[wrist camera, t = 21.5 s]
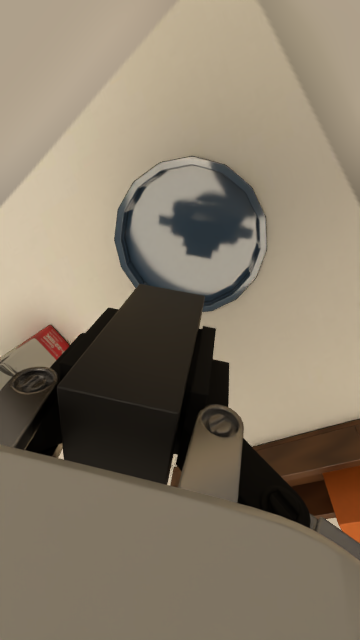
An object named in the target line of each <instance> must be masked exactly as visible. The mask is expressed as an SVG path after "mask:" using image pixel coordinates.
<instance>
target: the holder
mask: <svg viewBox="0 0 360 640" xmlns="http://www.w3.org/2000/svg"><path fill="white" fill-rule="evenodd" d="M252 448H253V449H254V450H255V451H256V452H257V453H258V454H259V455H260V456H261V457H262V458H263V459H264V460H265V461H266V462H267V463H268V464H269V465H270V466H271V467H272V468H273V469H274V470H275V471H276V472H277V473H278V474H279V475H280V476H281V477H282V478H283V479H284V480H285V481H286V482H287V483H288V484H289V485H290V486H291V487H292V488H293V489H294V490H295V491H296V492H297V493H298V495H299V496H300V497H301V498H302V500H303V501H304V502H305V504H306V506H307V508H308V510H309V513H310V514H312V515H313V516H314V517H316V518H317V519H319V518H320V516H321V517H323V518H324V519H329V518H336V515H335V512H334V509H333V506H332V503H331V499H330V496H329V493H328V490H327V487H326V484H325V480H324V477H323V474H322V473H327V472H332V471H336V470H341V469H346V468H351V467H356V466H360V419H358V420H354V421H351V422H347V423H343V424H339V425H335V426H331V427H328V428H324V429H320V430H316V431H312V432H308V433H305V434H301V435H297V436H293V437H289V438H286V439H282V440H278V441H274V442H270V443H266V444H263V445H259V446H255V447H252ZM181 473H182V472H181V470H180V469H179V467H175V468H174V469H173V475H172V480H171V486H173V487H178V484H179V480H180V477H181Z"/></svg>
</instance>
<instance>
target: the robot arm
mask: <svg viewBox="0 0 360 640" xmlns="http://www.w3.org/2000/svg"><path fill="white" fill-rule="evenodd" d="M117 311H118V309H113V308H108V309H107V310H106V311H105V312H104V313H103V314H102V315H101V316H100V317H99V319H98V320H97V321H96V322H95V323H94V324H93V325H92V326H91V328H90V329H89V330H88V331H87V332H86V333H82V334H80V335H79V336H78V337H77V338H76V339H75V340H74V342H73V343H72V344H71V345H70V346H69V347H68V348H67V349H66V350H65V351H64V352H63V354H62V355H61V356H60V357H59V358H58V359H57V360H56V361H55V362H54V363H53V364H52V366H51V367H50V368H48V367H40V366H37V367H30V368H27V369H24V370H22V371H20V372H18V373H16V374H15V375H14V376H13V377H12V378H11V379H10V380H9V381H8V382H7V383H6V384H5V386H4V387H3V388H2V389H1V390H0V640H360V543H359V542H357V541H356V540H354V539H353V538H351V537H350V536H349V535H347V534H346V533H344V532H343V531H341V530H340V529H339V528H337V527H336V526H334V525H333V524H331V523H330V522H329V521H327V520H326V519H324V518H323V517H321V516H320V518H319V519H317V518H316V517H314V516H313V515H312V514H310V513H309V510H308V508H307V506H306V504H305V502H304V501H303V500H302V498H301V497H300V496H299V495H298V493H297V492H296V491H295V490H294V489H293V488H292V487H291V486H290V485H289V484H288V483H287V482H286V481H285V480H284V479H283V478H282V477H281V476H280V475H279V474H278V473H277V472H276V471H275V470H274V469H273V468H272V467H271V466H270V465H269V464H268V463H267V462H266V461H265V460H264V459H263V458H262V457H261V456H260V455H259V454H258V453H257V452H256V451H255V450H254V449H253V448H252V447H251V446H250V445H249V444H248V443H247V441H246V440H245V439H244V438H243V431H244V427H243V422H242V420H241V418H240V416H239V415H238V414H237V413H236V412H235V411H233V410H232V409H230V408H228V396H229V363H228V362H223V361H218V360H213V350H214V340H215V331H216V329H215V328H210V327H205V326H203V328H202V329H198V332H197V337H196V342H195V346H194V351H193V356H192V360H191V365H190V369H189V374H188V379H187V383H186V388H185V393H184V398H183V404H182V409H181V414H180V420H179V425H178V431H177V436H176V441H175V447H174V452H173V454H178V457H177V462H176V465H177V466H178V467H179V469H180V470H181V472H182V473H181V477H180V480H179V484H178V487H173V486H169V485H165V484H161V483H157V482H153V481H149V480H145V479H141V478H137V477H133V476H129V475H125V474H121V473H117V472H113V471H108V470H104V469H100V468H96V467H92V466H88V465H84V464H80V463H76V462H71V461H67V460H63V459H59V458H58V457H59V455H60V453H61V451H62V449H63V444H62V434H61V425H60V415H59V405H58V395H57V386H58V384H59V383H60V382H61V381H62V379H63V378H64V377H65V376H66V374H67V373H68V372H69V371H70V369H71V368H72V367H73V366H74V365H75V363H76V362H77V361H78V360H79V358H80V357H81V356H82V355H83V353H84V352H85V351H86V350H87V348H88V347H89V346H90V345H91V344H92V342H93V341H94V340H95V339H96V337H97V336H98V335H99V334H100V332H101V331H102V330H103V329H104V327H105V326H106V325H107V324H108V322H109V321H110V320H111V319H112V318H113V316H114V315H115V314H116V313H117Z"/></svg>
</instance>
